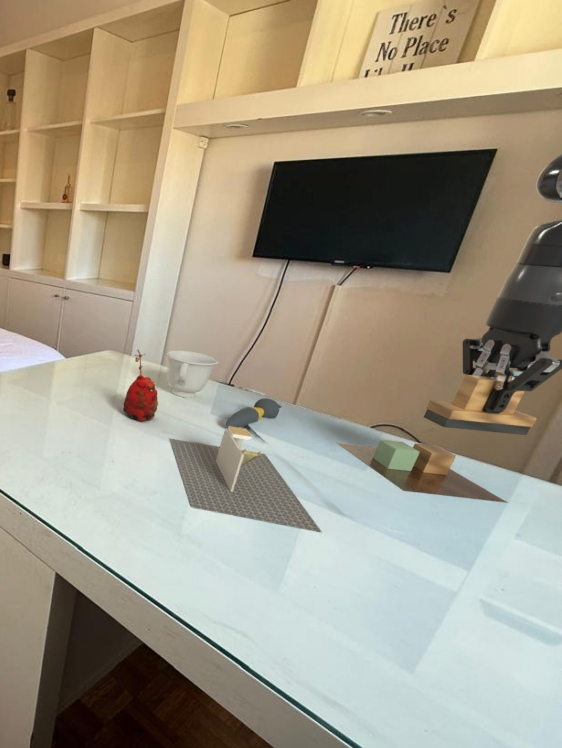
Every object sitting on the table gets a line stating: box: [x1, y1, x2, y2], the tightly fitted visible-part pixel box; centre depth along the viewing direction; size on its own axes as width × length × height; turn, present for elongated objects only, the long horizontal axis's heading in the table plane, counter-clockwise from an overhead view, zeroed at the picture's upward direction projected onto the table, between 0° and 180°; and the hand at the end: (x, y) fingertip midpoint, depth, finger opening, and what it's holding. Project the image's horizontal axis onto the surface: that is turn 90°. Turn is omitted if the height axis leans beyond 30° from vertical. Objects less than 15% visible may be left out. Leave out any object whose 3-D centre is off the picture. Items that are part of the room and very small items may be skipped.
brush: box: [423, 374, 538, 436], centre depth 71 cm, size 12×4×8 cm, turn 84°
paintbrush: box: [225, 397, 283, 428], centre depth 101 cm, size 20×5×5 cm, turn 126°
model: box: [215, 426, 262, 492], centre depth 77 cm, size 3×11×8 cm, turn 165°
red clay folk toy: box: [122, 349, 159, 422], centre depth 99 cm, size 8×7×15 cm
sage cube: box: [373, 439, 420, 471], centre depth 83 cm, size 4×4×4 cm
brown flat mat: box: [336, 442, 509, 504], centre depth 83 cm, size 16×18×1 cm
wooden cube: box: [412, 443, 457, 475], centre depth 83 cm, size 4×4×4 cm
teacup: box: [166, 350, 219, 399], centre depth 115 cm, size 12×15×10 cm
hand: (481, 408), depth 72 cm, fingers closed on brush, 2 cm apart
